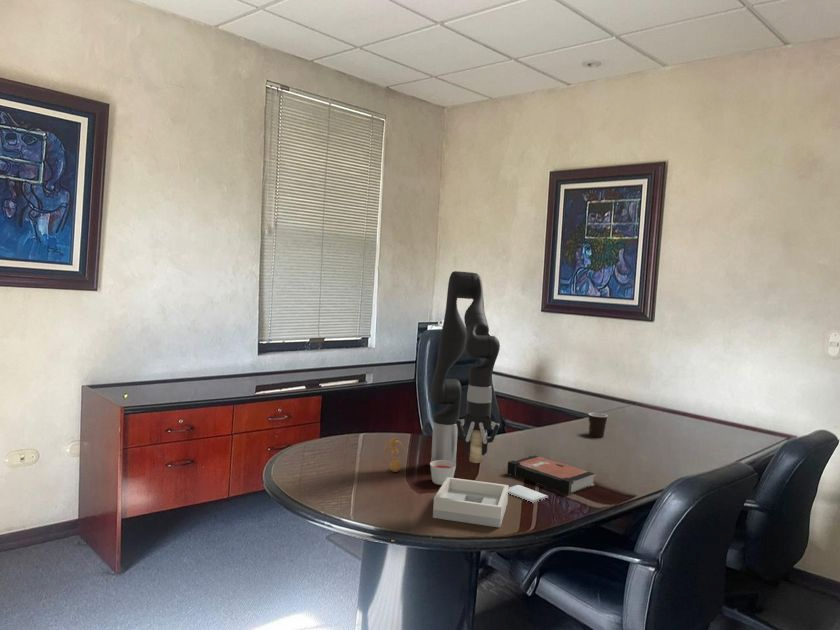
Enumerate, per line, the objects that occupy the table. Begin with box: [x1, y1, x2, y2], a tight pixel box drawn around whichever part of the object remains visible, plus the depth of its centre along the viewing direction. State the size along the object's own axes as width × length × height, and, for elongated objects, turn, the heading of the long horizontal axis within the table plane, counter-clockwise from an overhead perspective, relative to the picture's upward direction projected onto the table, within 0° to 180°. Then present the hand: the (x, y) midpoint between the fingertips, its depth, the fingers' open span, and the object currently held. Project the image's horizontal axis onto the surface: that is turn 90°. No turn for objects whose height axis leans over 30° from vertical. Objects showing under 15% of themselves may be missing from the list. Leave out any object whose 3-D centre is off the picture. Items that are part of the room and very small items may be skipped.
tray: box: [432, 477, 509, 528], centre depth 193 cm, size 20×20×6 cm
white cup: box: [429, 460, 457, 486], centre depth 218 cm, size 9×9×6 cm
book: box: [506, 455, 596, 495], centre depth 227 cm, size 26×18×5 cm
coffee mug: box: [587, 412, 608, 439], centre depth 294 cm, size 12×9×10 cm
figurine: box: [383, 437, 406, 473], centre depth 227 cm, size 8×6×12 cm
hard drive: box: [508, 484, 549, 504], centre depth 209 cm, size 2×8×12 cm
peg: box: [469, 430, 484, 464], centre depth 195 cm, size 4×4×10 cm
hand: (476, 453), depth 195 cm, fingers closed on peg, 4 cm apart
